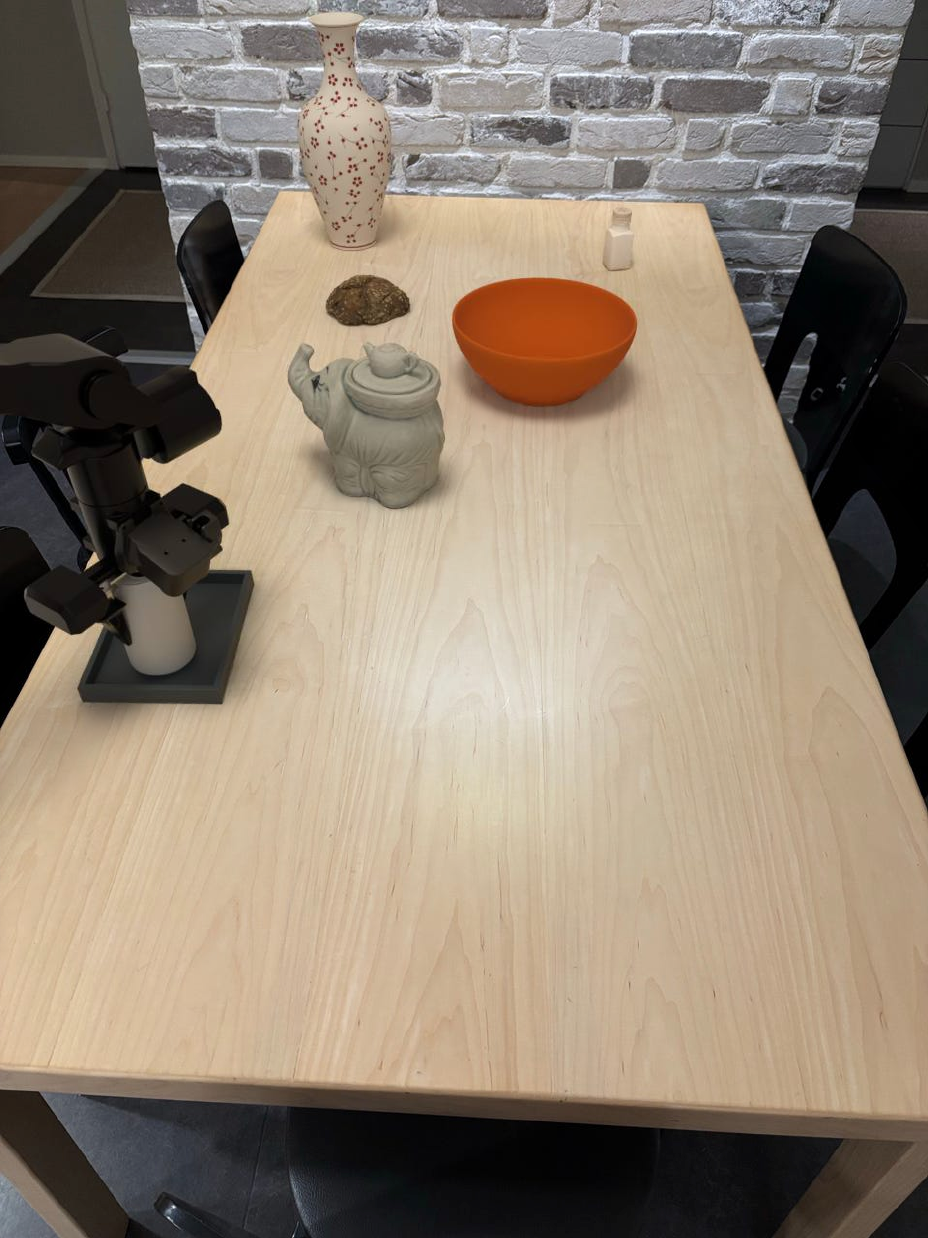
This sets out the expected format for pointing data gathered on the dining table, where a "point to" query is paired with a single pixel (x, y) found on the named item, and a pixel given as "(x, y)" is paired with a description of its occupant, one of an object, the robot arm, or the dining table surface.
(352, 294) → the bread roll
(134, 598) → the beverage can
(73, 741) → the dining table surface
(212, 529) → the robot arm
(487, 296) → the bowl
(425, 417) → the teapot
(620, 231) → the pepper shaker
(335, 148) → the vase
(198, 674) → the rectangular tray
